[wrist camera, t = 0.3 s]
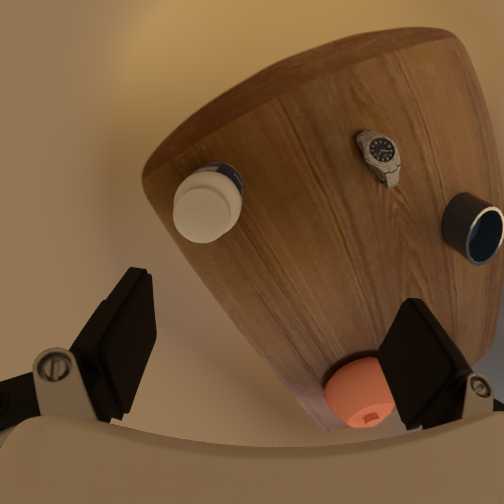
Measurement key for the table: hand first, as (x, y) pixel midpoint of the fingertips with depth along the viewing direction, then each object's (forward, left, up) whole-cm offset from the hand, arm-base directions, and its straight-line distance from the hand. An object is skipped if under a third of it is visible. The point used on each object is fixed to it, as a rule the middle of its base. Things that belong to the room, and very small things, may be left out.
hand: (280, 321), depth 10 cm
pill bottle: (+3, -3, -20) cm, 21 cm away
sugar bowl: (+7, +33, -20) cm, 39 cm away
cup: (-18, +20, -20) cm, 33 cm away
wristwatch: (-11, +5, -20) cm, 23 cm away
